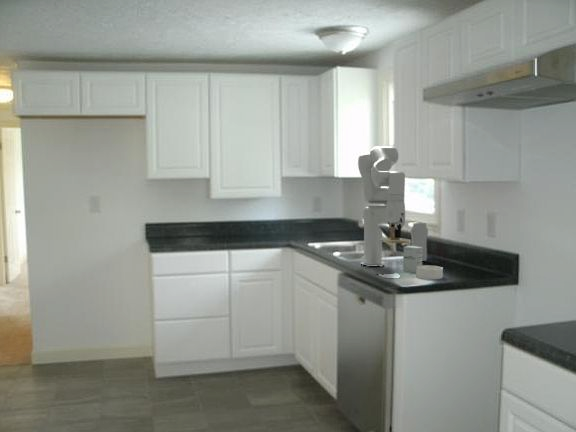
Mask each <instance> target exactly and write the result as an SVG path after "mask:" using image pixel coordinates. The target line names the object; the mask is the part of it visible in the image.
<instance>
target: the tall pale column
mask: <svg viewBox="0 0 576 432" xmlns="http://www.w3.org/2000/svg"><path fill="white" fill-rule="evenodd" d="M428 234H429V229H428V227H427V223H426V222H421V221H420V222H414V223H413V224H412V228H410V235H411V246H417V247H423V257H422V261H426V260H427V255H428V247H427V239H428ZM426 262H427V261H426Z"/></svg>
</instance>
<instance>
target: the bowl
mask: <svg viewBox="0 0 576 432" xmlns="http://www.w3.org/2000/svg"><path fill="white" fill-rule="evenodd" d="M443 271H444V267H442V266H437V265H426V264H425V265H422V266H417V270H416V272H415V277H416V278H419V279H423V280H424V279H425V280H441V279H443V274H444V272H443Z"/></svg>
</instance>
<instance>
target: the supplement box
mask: <svg viewBox="0 0 576 432" xmlns="http://www.w3.org/2000/svg"><path fill="white" fill-rule="evenodd" d="M402 253H403V254H402V255H403V256H402V259H403V260H402V271H403V272H409V273H416V270H417V266H423V262H422V257H423V247H417V246H412V245H406V246H404V247H403V252H402Z"/></svg>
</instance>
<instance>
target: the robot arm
mask: <svg viewBox="0 0 576 432" xmlns="http://www.w3.org/2000/svg"><path fill="white" fill-rule="evenodd" d="M398 160H399V152H398V149H397V148H396V147H393V146H373V148H371V149H370V150H369V152H364V153H362V154H360V155H359V157H358V162H357V166H358V171H359V174H360V176H361V179H362V187H363V199H364V202H365V203H366V204H368V206H365V207H364V208H363V210H362V218H363V227H364V228H363V256H361V257H360V259H361V260H362V261H360V265H361V264H365V265H377V266H380V265H384V266H385V262H383V261H382V259H383V256H382V255H383V242H381V241H380V239H382V238H383V230H382V229H381V227H380V226H379V225H381V224H382V225H388V228H389V231H390V230H391V227H396V229H395V238H401V237H402V229H403V226H405V225H406V221H405V220H406V204H405V190H406V189H405V186H406V175H405V172H402V171H395V170H394V171H392V170H391V169H392V167H393V166H394V165H395V164H396V163H397V162H398ZM380 267H381V266H380Z"/></svg>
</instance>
